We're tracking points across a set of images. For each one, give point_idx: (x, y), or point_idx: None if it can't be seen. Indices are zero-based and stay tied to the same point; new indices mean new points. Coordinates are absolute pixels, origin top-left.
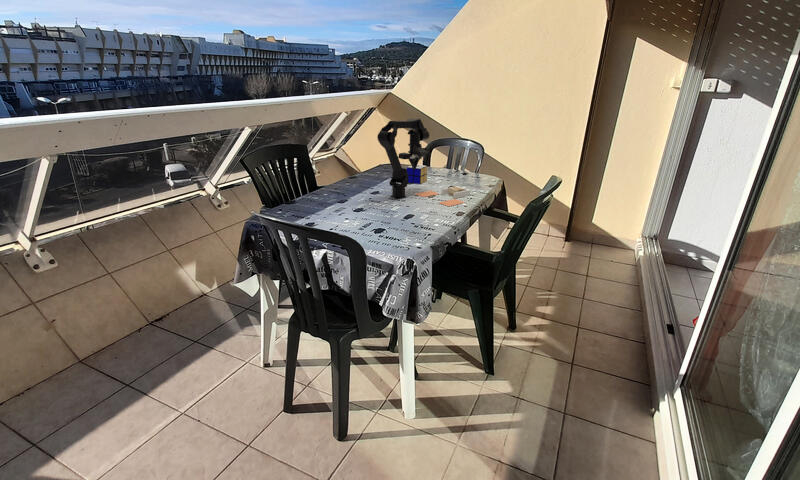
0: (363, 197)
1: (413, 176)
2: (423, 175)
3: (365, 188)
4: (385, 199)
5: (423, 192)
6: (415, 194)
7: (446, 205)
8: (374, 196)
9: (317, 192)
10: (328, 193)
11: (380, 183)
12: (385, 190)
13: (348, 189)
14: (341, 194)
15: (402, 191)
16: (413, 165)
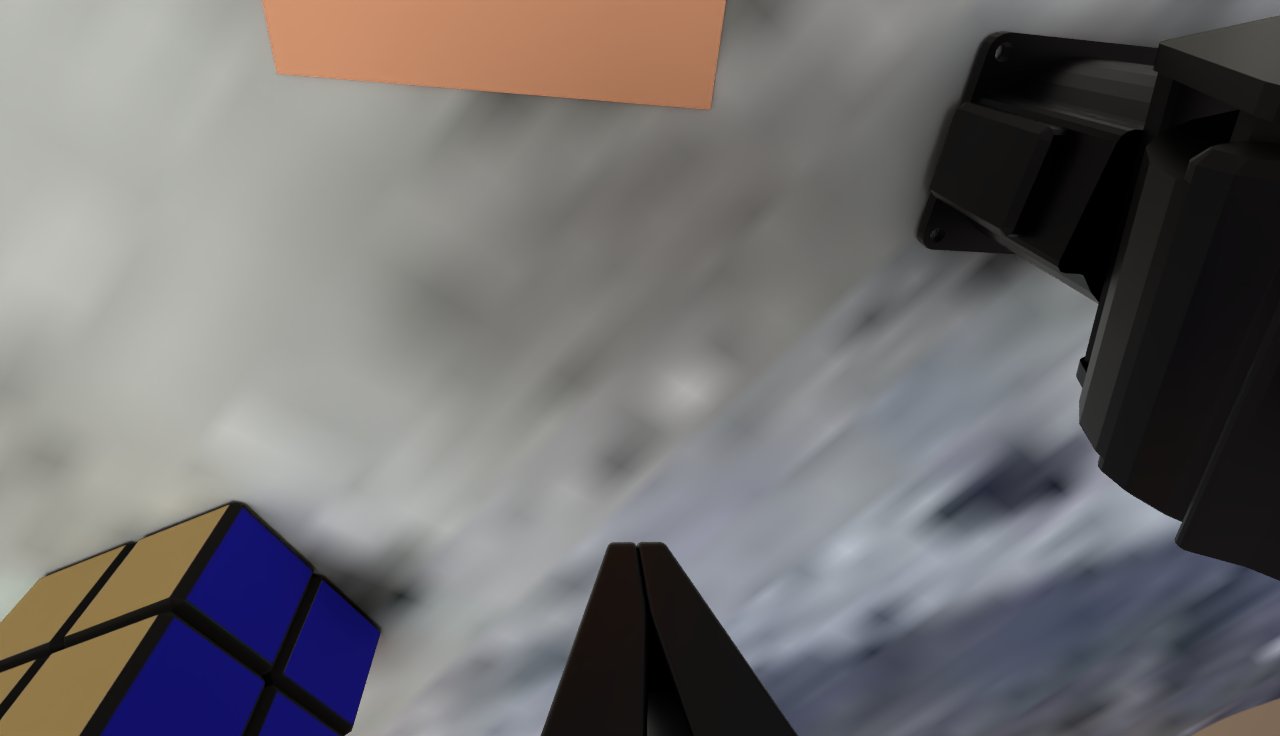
0: None
1: (275, 667)
2: (67, 640)
3: (919, 642)
4: None
5: (503, 64)
6: (714, 75)
7: None
8: None
9: (1244, 703)
10: (1241, 657)
11: None
12: (849, 506)
13: (1041, 675)
14: (1230, 596)
15: (1150, 70)
16: (764, 712)
